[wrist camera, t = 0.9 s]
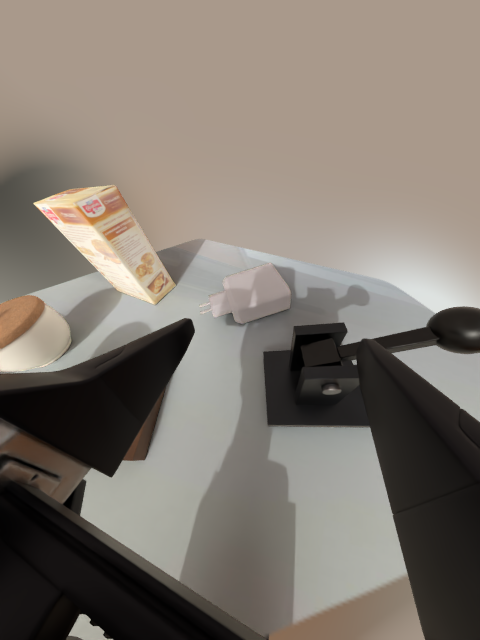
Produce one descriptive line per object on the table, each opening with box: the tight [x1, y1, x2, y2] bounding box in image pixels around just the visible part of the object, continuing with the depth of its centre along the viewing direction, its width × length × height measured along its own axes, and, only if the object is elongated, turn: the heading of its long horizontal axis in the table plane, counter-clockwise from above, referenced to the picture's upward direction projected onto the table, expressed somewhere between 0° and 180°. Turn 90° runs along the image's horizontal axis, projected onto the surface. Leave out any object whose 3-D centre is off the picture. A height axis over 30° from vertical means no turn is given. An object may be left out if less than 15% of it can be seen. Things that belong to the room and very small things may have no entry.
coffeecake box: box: [34, 185, 176, 305], centre depth 34 cm, size 15×7×20 cm, turn 61°
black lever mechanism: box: [263, 323, 370, 427], centre depth 18 cm, size 11×9×10 cm
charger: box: [199, 263, 291, 324], centre depth 30 cm, size 5×9×15 cm
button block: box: [123, 387, 166, 461], centre depth 23 cm, size 12×10×4 cm
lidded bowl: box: [0, 295, 72, 372], centre depth 30 cm, size 13×13×11 cm
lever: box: [301, 307, 480, 367], centre depth 14 cm, size 12×3×3 cm, turn 88°
